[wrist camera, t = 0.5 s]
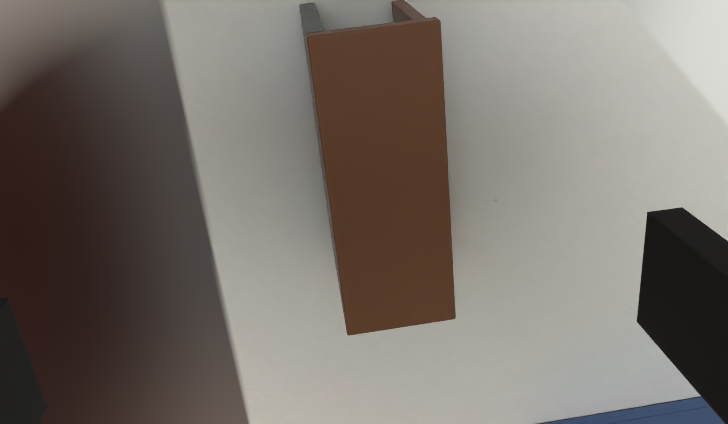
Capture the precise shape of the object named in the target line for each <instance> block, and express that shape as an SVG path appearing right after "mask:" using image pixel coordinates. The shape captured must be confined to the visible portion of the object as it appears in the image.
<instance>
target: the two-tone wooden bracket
mask: <svg viewBox="0 0 728 424" xmlns="http://www.w3.org/2000/svg"><path fill="white" fill-rule="evenodd" d="M392 10H393V20H394V23H386V24H378V25H370V26H362V27H354V28H346V29H338V30H330V31H324V28H323V26H322V23H321V20H320V17H319V14H318V12H317V9H316V6H315V4H314V3H307V4H301V5H300V14H301V21H302V28H303V35H304V42H305V50H306V57H307V64H308V71H309V78H310V86H311V93H312V100H313V107H314V114H315V122H316V129H317V136H318V143H319V150H320V158H321V165H322V172H323V179H324V186H325V194H326V201H327V208H328V215H329V222H330V230H331V237H332V244H333V251H334V257H335V263H336V269H337V275H338V281H339V287H340V294H341V300H342V306H343V312H344V318H345V324H346V330H347V334H348V335H355V334H361V333H368V332H374V331H380V330H387V329H393V328H400V327H406V326H412V325H419V324H425V323H432V322H438V321H445V320H451V319H455V317H456V316H455V297H454V277H453V258H452V238H451V218H450V199H449V179H448V160H447V140H446V121H445V101H444V82H443V62H442V42H441V23H440V20H439V19H437V18H436V17H433V18H425V17H424V16H423V15H421V14H420V13H419V12H418V11H417V10H415V9H414V8H413V7H412V6H411V5H409V4H408V3H407V2H406V1H405V0H395V1H392Z"/></svg>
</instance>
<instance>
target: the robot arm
mask: <svg viewBox="0 0 728 424" xmlns="http://www.w3.org/2000/svg"><path fill="white" fill-rule="evenodd" d="M637 322H638V323H639V325H640V326H641V327H642V328H643V329H644V330H645V332H646V333H647V334H648V335H649V336H650V337H651V339H652V340H653V341H654V342H655V343H656V344H657V345H658V347H659V348H660V349H661V350H662V351H663V352H664V354H665V355H666V356H667V357H668V358H669V359H670V361H671V362H672V363H673V364H674V365H675V366H676V367H677V369H678V370H679V371H680V372H681V373H682V374H683V376H684V377H685V378H686V379H687V380H688V381H689V382H690V384H691V385H692V386H693V387H694V388H695V389H696V391H697V392H698V393H699V394H700V395H701V396H702V398H703V399H704V400H705V401H706V402H707V403H708V404H709V406H710V407H711V408H712V409H713V410H714V411H715V413H716V414H717V415H718V416H719V417H720V418H721V420H722V421H723V422H724V423H725V424H728V241H727V240H725V239H724V238H723V237H721V236H720V235H719V234H717V233H716V232H715V231H713V230H712V229H710V228H709V227H708V226H706V225H705V224H704V223H702V222H701V221H700V220H698V219H697V218H696V217H694V216H693V215H692V214H690V213H689V212H688V211H686V210H685V209H684V208H675V209H667V210H660V211H652V212H647V222H646V232H645V242H644V253H643V263H642V274H641V284H640V295H639V305H638V315H637ZM47 408H48V406H47V403H46V400H45V398H44V395H43V392H42V389H41V387H40V384H39V381H38V379H37V376H36V373H35V370H34V367H33V365H32V362H31V359H30V356H29V353H28V351H27V348H26V345H25V342H24V340H23V337H22V334H21V331H20V329H19V326H18V323H17V320H16V318H15V315H14V312H13V309H12V307H11V304H10V301H9V298H0V424H40V423H41V421H42V419H43V416H44V414H45V412H46V410H47Z"/></svg>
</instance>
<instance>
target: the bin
mask: <svg viewBox="0 0 728 424" xmlns="http://www.w3.org/2000/svg"><path fill="white" fill-rule="evenodd" d="M543 424H725V423H724V422H723V421H722V420H721V418H720V417H719V416H718V415H717V414H716V413H715V411H714V410H713V409H712V408H711V407H710V406H709V404H708V403H707V402H706V401H705V400H704V399H703V398H702V397H698V398H692V399H686V400H680V401H674V402H668V403H662V404H656V405H650V406H644V407H639V408H633V409H627V410H621V411H615V412H609V413H603V414H597V415H591V416H585V417H579V418H573V419H567V420H561V421H555V422H549V423H543Z"/></svg>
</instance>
